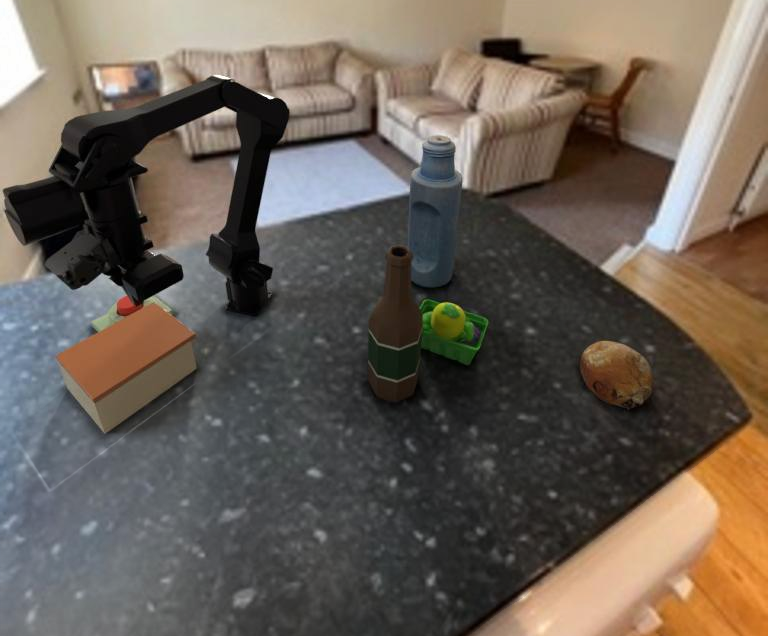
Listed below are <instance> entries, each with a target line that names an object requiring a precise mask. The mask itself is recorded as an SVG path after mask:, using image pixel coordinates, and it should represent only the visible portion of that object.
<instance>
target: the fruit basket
mask: <svg viewBox="0 0 768 636" xmlns="http://www.w3.org/2000/svg"><path fill="white" fill-rule="evenodd" d="M419 308H420V311H421V313H422V316H423V330H422V342H421V349H423V350H428V351H430V352H431V353H433V354H437V355H441V356H443V357H445V358H447V359H450V360H453V361H457V362H458V363H460V364H463V365H466V366H469V365H470V364H471V363H472V361H473V359H474V357H475V355H476V353H477V352H479V350H480V348H481V346H482V342H483V339H484V336H485V334H486V331H487V328H488V325H489V320H488V319H487V318H486V317H484V316H481V315H478V314H475V313H471V312H469V311H465V310H463V309H462V308H461V307H460V306H459V305H458V304H455V303H452V302H447V301H446V302H437V301H435V300H432V299H424V300H423V302H422V303H421V305H420V306H419Z"/></svg>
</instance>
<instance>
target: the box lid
mask: <svg viewBox="0 0 768 636" xmlns="http://www.w3.org/2000/svg"><path fill="white" fill-rule="evenodd" d="M194 339H196V333H195V332H193V331H192V330H191V329H189V327H187V326H186V325H185V324H183V323H182V322H181V321H179V320H178V319H177V318H176V317H174V316H173V315H170V314H169V313H168V312H167V311H165V310H164V309H163V308H162V307H160V306H159V305H158V304H156V303H155V302H153V303H151V304H149V305H147V306H146V307H144V308H142V309H140V310H138V311H136V312H135V313H133V314H131V315H129V316H127V317H125V318H124V319H122V320H120V321H118V322H116V323H114V324H113V325H111V326H109V327H107V328H105V329H103V330H102V331H100V332H98V331H97V332H96V333H94V334H92V335H91V336H89V337H87V338H85V339H83V340H81V341H79V342H78V343H76V344H74V345H72V346H70V347H68V348H67V349H65V350H63V351H61V352H60V353H58V354H55V356H54V357H55V359H56V362H57V361H58V362H59V363H60V364H61V365H62V367H63V368H64V369H65V370H66V371H67V372H68V374H69V375H70V376H71V377H72V378H73V379H74V381H75V382H76V383H77V384H78V385H79V386H80V388H81V389H82V390H83V391H84V392H85V393H86V395H87V396H88V397H89V398H90V399H91V400H92V402H93V403H96V402H98V401H99V400H101V399H102V398H104V397H105V396H107V395H108V394H110V393H111V392H113V391H115V390H116V389H118V388H119V387H121V386H122V385H124V384H125V383H127V382H128V381H130V380H131V379H133V378H135V377H136V376H138V375H139V374H141V373H142V372H144V371H145V370H147V369H148V368H150V367H151V366H153V365H154V364H156V363H158V362H159V361H161V360H162V359H164V358H165V357H167V356H168V355H170V354H171V353H173V352H174V351H176V350H177V349H179V348H181V347H182V346H184V345H185V344H187V343H188V342H190V341H191V342H192V341H193V340H194ZM58 362H57V363H58Z"/></svg>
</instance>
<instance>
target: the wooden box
mask: <svg viewBox="0 0 768 636" xmlns="http://www.w3.org/2000/svg"><path fill="white" fill-rule="evenodd" d="M56 362H57V364H58V367H59V369H60V372H61V375H62V378H63V380H64V382H65V385H66V388H67V390H68V391H69V392H70V394H72V396H73V397H74V398H75V399H76V401H77V403H79V404H80V406H81V407H82V408H83V409H84V410H85V412H86V413H87V414H88V415H89V417H90V418H91V419H92V420H93V421H94V423H95V424H96V425H97V426H98V427H99V429H100V430H101V431H102V432H103V433H104V434H105V435H106V434H107V433H108V432H110V431H112V430H113V429H114V428H115V427H117V426H118V425H119V424H121V423H122V422H124V421H125V420H127V419H128V418H129V417H131V416H132V415H134V414H136V413H137V412H138V411H139V410H141V409H142V408H144V407H145V406H146V405H148V404H149V403H150V402H152V401H153V400H155V399H156V398H158V397H159V396H160V395H162V394H163V393H164V392H166V391H167V390H169V389H170V388H172V387H173V386H174V385H176V384H177V383H179V382H180V381H181V380H183V379H184V378H186V377H187V376H189V374H191V373H193V372H194V371H195V370H196V369H198V368H197V363H196V359H195V354H194V349H193V345H192V340H191V341H190V342H188V343H187V344H185V345H184V346H182V347H181V348H179V349H177V350H176V351H174V352H173V353H171V354H170V355H168V356H167V357H165V358H164V359H162V360H161V361H159V362H158V363H156V364H154V365H153V366H151V367H150V368H148V369H147V370H145V371H144V372H142V373H141V374H139V375H138V376H136V377H135V378H133V379H131V380H130V381H128V382H127V383H125V384H124V385H122V386H121V387H119V388H118V389H116V390H115V391H113V392H111V393H110V394H108V395H107V396H105V397H104V398H102V399H101V400H99V401H98V402H96V403H93V402H92V400H91V399H90V398H89V397H88V396H87V395H86V393H85V392H84V391H83V390H82V389H81V388H80V386H79V385H78V384H77V383H76V382H75V381H74V379H73V378H72V377H71V376H70V375H69V374H68V372H67V371H66V370H65V369H64V368H63V367H62V365H61V364H60V363H59V362H58V361H57V360H56Z"/></svg>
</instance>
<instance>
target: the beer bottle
mask: <svg viewBox="0 0 768 636" xmlns="http://www.w3.org/2000/svg"><path fill="white" fill-rule="evenodd" d="M413 258H414V257H413V253H412V251H411V250H410V249H409V248H408V247H407V246H406V245H405V246H404V245H398V244H397V245H393V246H390V247H389V248H388V249H387V251H386V254H385V257H384V259H385V260H386V267H385V276H384V285H383V292H382V295H381V296H380V297H379V298H378V300H377V303H376V304H375V306H374V308H373V310H372V312H371V315H370V317H369V321H368V337H367V339H368V340H367V341H368V343H367V344H368V346H367V378H368V379H367V380H368V383H369V385H370V387H371V388H372V390H373V393H374V394H375V395H376V397H377V398H378V399H381V400H385V401H389V402H391V403H398V402H401V401H403V400H405V399H407V398H410V397H413V395H414V393H415V390H416V386H417V383H418V380H419V375H420V366H421V354H422V353H421V352H422V348H421V342H422V330H423V316H422V313H421V311H420V306H419V305H418V304H417V303H416V302H415V300H414V298H413V292H412V281H411V262H412V260H413Z"/></svg>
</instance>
